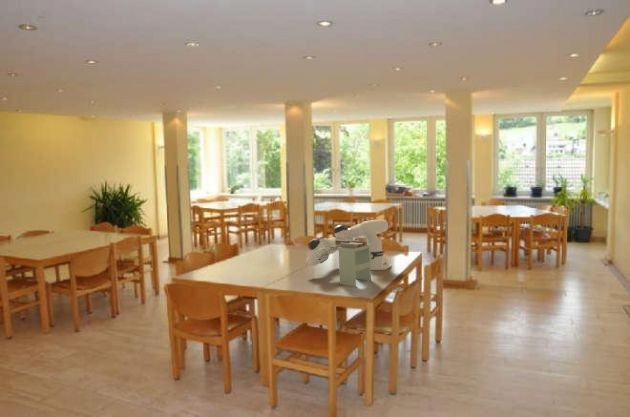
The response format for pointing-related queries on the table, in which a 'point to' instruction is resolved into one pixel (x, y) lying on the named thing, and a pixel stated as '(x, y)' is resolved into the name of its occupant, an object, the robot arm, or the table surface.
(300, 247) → the table surface
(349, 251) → the stand
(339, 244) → the board with handle
